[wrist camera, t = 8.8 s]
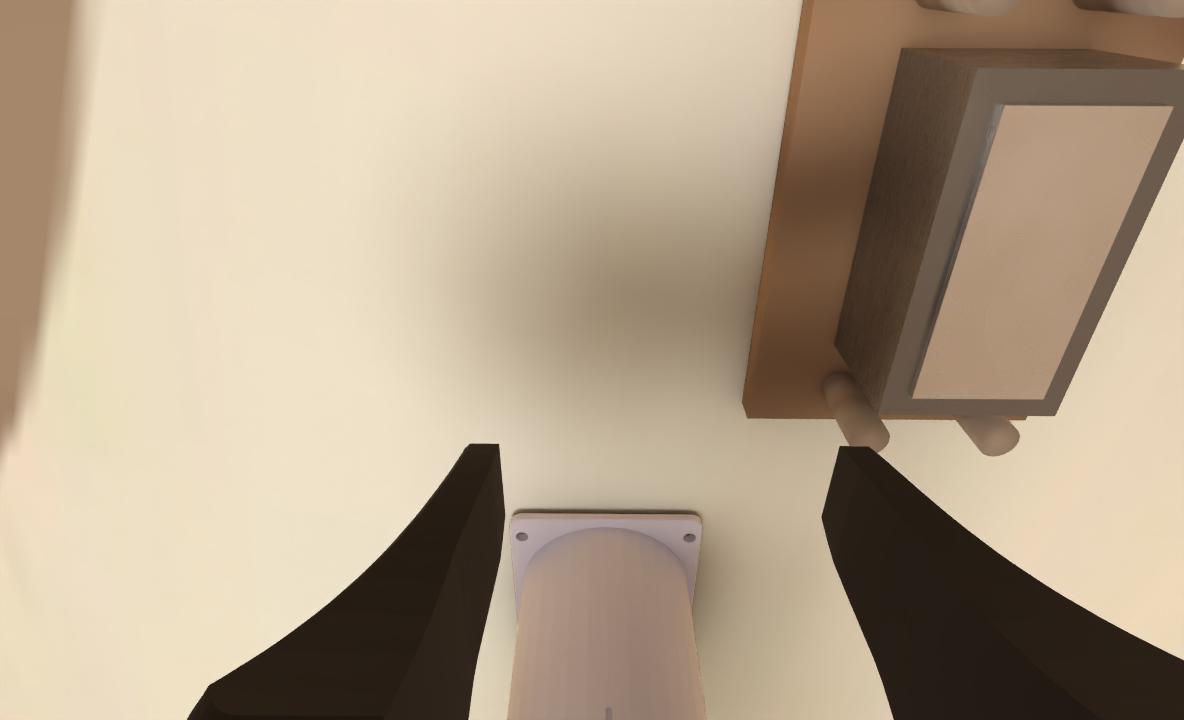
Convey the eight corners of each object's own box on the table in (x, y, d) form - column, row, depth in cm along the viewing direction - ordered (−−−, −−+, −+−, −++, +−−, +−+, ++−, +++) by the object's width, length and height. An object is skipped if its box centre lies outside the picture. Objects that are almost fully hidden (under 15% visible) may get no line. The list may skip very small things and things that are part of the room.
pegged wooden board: (1010, 404, 24) (1078, 476, 21) (741, 402, 24) (766, 474, 21) (1211, -82, 16) (1374, -94, 13) (816, -84, 16) (874, -97, 13)
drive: (982, 345, 22) (1059, 420, 18) (833, 344, 22) (880, 418, 18) (1091, 49, 17) (1223, 70, 13) (901, 47, 17) (982, 70, 13)
